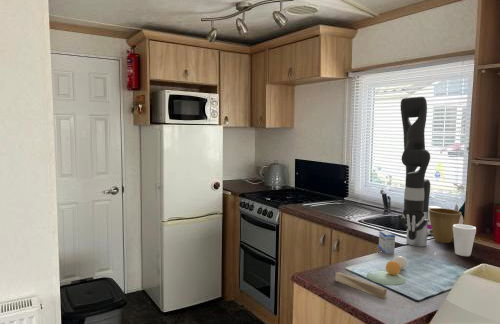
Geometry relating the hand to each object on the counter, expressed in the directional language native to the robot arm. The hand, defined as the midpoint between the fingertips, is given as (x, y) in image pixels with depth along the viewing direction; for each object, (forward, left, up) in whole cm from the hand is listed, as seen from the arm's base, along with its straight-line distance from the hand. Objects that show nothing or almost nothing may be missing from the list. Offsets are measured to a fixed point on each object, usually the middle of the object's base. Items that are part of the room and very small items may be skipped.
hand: (412, 239), depth 161 cm
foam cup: (-17, +33, -12) cm, 39 cm away
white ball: (+2, -6, -9) cm, 11 cm away
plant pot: (-38, +36, -12) cm, 54 cm away
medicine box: (-23, -1, -12) cm, 26 cm away
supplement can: (-53, +39, -12) cm, 67 cm away
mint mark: (+11, -15, -12) cm, 22 cm away
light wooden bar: (+20, -29, -12) cm, 38 cm away
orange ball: (+8, -11, -9) cm, 17 cm away
